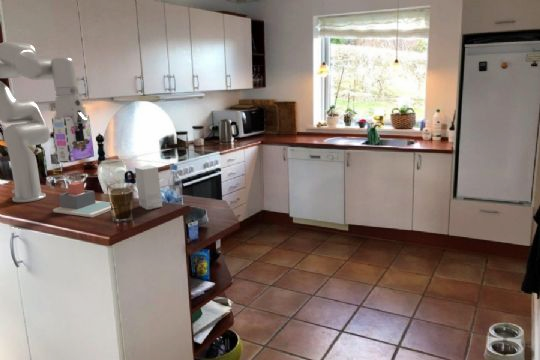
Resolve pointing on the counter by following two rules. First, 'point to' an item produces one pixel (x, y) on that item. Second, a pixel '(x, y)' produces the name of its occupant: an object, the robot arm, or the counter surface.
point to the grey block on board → (82, 204)
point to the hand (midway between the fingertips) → (73, 140)
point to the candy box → (71, 140)
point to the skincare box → (148, 187)
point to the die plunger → (76, 188)
